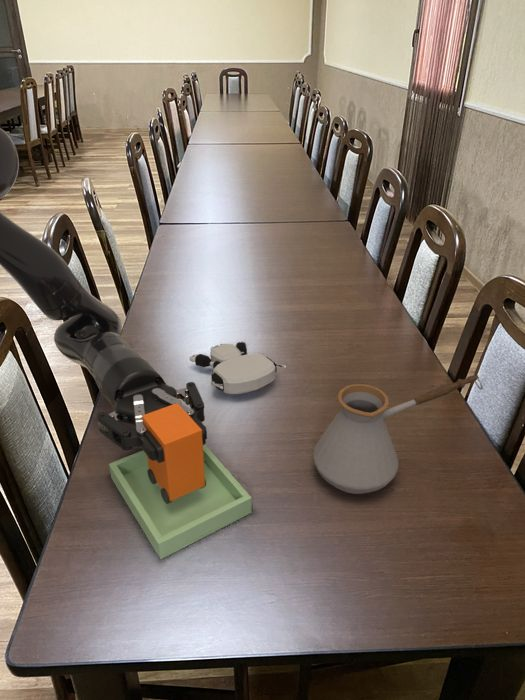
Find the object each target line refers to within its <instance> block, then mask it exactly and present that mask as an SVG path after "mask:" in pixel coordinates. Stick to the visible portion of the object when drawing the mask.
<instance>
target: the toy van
mask: <svg viewBox="0 0 525 700" xmlns="http://www.w3.org/2000/svg"><path fill="white" fill-rule="evenodd" d="M142 420H143V422H144V423H145V425H146V427H147V432H149V431H150V432H151V433H152V434H153V436H154V437H155V438H156V440H157V441H158V442H159V443H160V445H161V446H162V448H163V451H164V461H163V462H161V463H158V462H157V461H156V460H154V461H152V460H150V459H149V457H148V456H147V459H148V467H149V469H148V471H147V473H148V477H149V479H150V481H151V483H152V484H156V483H158V484H159V486H160V487H161V495H162V498H163V500H164V502H165V503H166V504H169V503H171V502H172V501H173V500H175V499H177V498H179V497H181V496H184V495H186V494H188V493H190V492H192V491H194V490H197V489H199V488H200V489H201V488H204V487H206V480H205V477H204V460H203V442H202V430H201V428H200V427H199V426H198V425H197V424H196V423H195V422H194V421H193V420H192V418H191V417H190V416H189V415H188V414H187V413H186V412H185V411H184V410H183V408H182V407H181V406H180V405H179V404H178V403H176V404H173V405H170V406H167V407H165V408H162V409H159V410H156V411H153V412H151V413H148V414H145V415H142Z"/></svg>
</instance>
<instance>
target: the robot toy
mask: <svg viewBox="0 0 525 700" xmlns="http://www.w3.org/2000/svg"><path fill="white" fill-rule="evenodd" d="M247 353H248V349H247V344H246V342H245V341H237V342H236V344H235V345H234V344H233V343H220V345H219V344H217V345H212V346H211V347H210V351H209V354H210V356H209V355H206V354H202V353H199V354H193V355H191V356H189V358H188V359H189V361H190V362H192V363H195V365H196V366H197V367H200V368H207V367H212V368H213V370H212V373H211V375H210V376H211V377H210V378H211V381H210V384H211V386H212V387H214V388H216V389H217V390H219V391H220V392H223V393H225V394H226V395H240V394H246V393H247V394H248V393H251V392H254V391H255V392H256V391H258V390H259V389H260V390H261V389H262V388H263V387H266V386H267V385H269V384H271V383H272V382H273V381H274V380H275V379H276V373H277V372H278V371H277V367H280V368H283V369H287V366H286V365H283V364H280V363H277V362H276V361H273V360H272V359H270V358H269V356H265V355H264V354H261V353H249V354H247Z"/></svg>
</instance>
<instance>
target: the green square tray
mask: <svg viewBox="0 0 525 700" xmlns="http://www.w3.org/2000/svg"><path fill="white" fill-rule="evenodd" d="M203 460H204V477H205V480H206V487H204V488H201V489H200V488H199V489H197V490H194V491H192V492H190V493H188V494H186V495H184V496H181V497H179V498H177V499H175V500H173V501H172V502H171V503H169V504H166V503H165V502H164V500H163V498H162V495H161V487H160V486H159V484H158V483H156V484H152V483H151V481H150V479H149V477H148V473H147V471H148V469H149V467H148V459H147V454H146V453H145V452H144V450H143V449H142V450H140V451H138V452H135V453H133V454H130V455H128V456H125V457H122V458H119V459H117V460H115V461H112V462H110V463H108V466H109V472H110V478H111V480H112V482H113V483H114V485H115V487H116V488H117V490H118V491H119V494H120V495H121V496H122V499H123V500H124V502H125V504H126V505H127V507H128V508H129V510H130V511H131V513H132V515H133V516H134V518H135V520H136V521H137V523H138V525H139V526H140V528H141V530H142V531H143V533H144V535H145V536H146V538H147V540H148V541H149V543H150V544H151V546H152V548H153V549H154V551H155V553H156V554H157V557H158V558H159V559H160V560H163V559H164V558H167V557H168V556H170V555H172V554H174V553H176V552H178V551H180V550H182V549H184V548H186V547H188V546H190V545H192V544H193V543H195V542H197V541H199V540H201V539H203V538H205V537H207V536H209V535H211V534H213V533H215V532H217V531H219V530H221V529H223V528H225V527H227V526H228V525H230V524H232V523H234V522H236V521H238V520H240V519H242V518H244V517H246V516H248V515H250V514H252V512H253V511H252V504H253V503H252V502H253V501H252V500H253V499H252V496H251V495H250V494H249V493H248V492H247V491H246V489H245V487H243V486H242V485H241V484H240V482H238V480H237V479H236V478H235V477H234V476H233V474H232V473H230V471H229V470H228V469H227V468H226V467H225V466H224V464H223V463H222V462H221V461H220V459H219V458H218V457H217V456H216V455H215V454H214V453H213V452H212V450H211V449H210V448H209V447H208V446H207V444H205V445H203Z"/></svg>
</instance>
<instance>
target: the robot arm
mask: <svg viewBox="0 0 525 700" xmlns="http://www.w3.org/2000/svg"><path fill="white" fill-rule="evenodd" d="M19 162H20V160H19V153H18V150H17V147H16V145H15V143H14V141H13V140H12V138H11V137H10V136H9V135H8V133H7V132H6V131H5V130H4V129H2V128H1V127H0V200H1V199H3V198H4V197H6V196H7V195H8V194H9V193H10V191H11V190H12V189H13V187H14V185H15V183H16V180H17V178H18V173H19V168H20V163H19ZM0 267H1V268H3V270H5V271H6V273H7V274H9V276H11V278H12V279H13V280H14V281H15V282H16V283H17V284H18V285H19V286H20V288H21V289H22V290H23V292H25V293H26V294H27V296H28V297H29V298H30V300H32V302H33V303H34V304H35V305H36V306H37V308H38V309H39V310H40V311H41V312H42V314H43V315H45V317H47V318H48V319H50V320H51V321H63V322H62V323H60V324H59V326H57V328H56V330H55V331H54V336H53V340H54V344H55V346H56V348H57V349H58V351H59V352H60V353H61V354H62V355H63V356H64V357H65V358H66V359H68V360H69V361H71V362H73V363H75V364H77V365H78V366H81V367H83V368H86V369H87V371H88V372H89V374H90V375H91V376H92V377H93V379H94V381H95V384H96V385H97V387H98V389H99V392H100V393H101V395H103V396H104V397H105V399H106V400H107V401H108V403H109V404H110V406H111V407H112V408H113V410H114V411H111V412H110V413H107V412H105V411H101V412H98V413H97V415H96V418H97V424H98V430H99V433H100V434H102V435H103V436H105V437H106V439H108V440H110V441H111V442H112V443H113V444H115V445H116V446H118V447H119V448H121V449H122V450H123V451H130V450H132V449H133V448H134V447H139V448H140V449H142V450H144V452H145V453H146V454H147V456H148V457H149V459H150V460H152V461H154V460H156V461H157V462H158V463H161V462H163V461H164V451H163V448H162V446H161V445H160V443H159V442H158V441H157V440H156V438H155V437H154V436H153V434H152V433H151V432H150V431H149V432H147V427H146V425H145V423H144V422H143V420H142V415H145V414H148V413H151V412H153V411H156V410H159V409H162V408H165V407H167V406H170V405H173V404H176V403H178V404H179V405H180V406H181V407H182V408H183V410H184V411H185V412H186V413H187V414H188V415H189V416H190V417H191V418H192V420H193V421H194V422H195V423H196V424H197V425H198V426H199V427H200V428H201V430H202V442H203V445H207V440H208V431H207V426H206V425H204V423H203V422H204V421H205V419H206V415H205V403H204V400H203V398H202V396H201V393H200V392H199V388H198V387H197V385H196V383H195V382H193V381H189V382H187V383H186V384H185V387H183V388H178V389H176V388H175V387H174V386H170V385H168V384H167V383H166V381H165V380H164V378H163V377H162V376H161V375H160V374H159V373H158V371H157V370H156V369H155V368H154V367H153V366H152V365H151V364H150V363H149V362H148V360H147V359H145V357H144V356H143V355H142V354H141V353H139V352H138V351H137V350H136V349H134V347H132V346H131V345H130V344H129V343H128V341H127V339H125V338H124V337H123V336H122V329H123V325H122V321H121V318H120V316H119V315H118V314H117V313H116V311H114V309H112V308H111V307H109V306H108V305H107V304H105V303H104V302H102V301H101V300H99V299H98V298H97V297H95V296H94V295H93V294H92V293H90V292H89V291H88V289H86V288H85V287H84V286H83V284H82V282H80V279H78V278H77V276H76V274H75V273H74V272H73V270H72V268H71V267H70V266H69V264H68V263H67V262H66V261H65V260H64V259H63V257H62V256H61V255H60V254H59V253H58V252H56V250H55V249H53V248H52V247H51V246H50V245H48V244H47V243H45V241H43V240H41V239H40V238H38V237H37V236H35V235H33V234H32V233H30V232H29V231H27V230H26V229H24V228H23V227H21V226H20V225H18V224H17V223H16V222H14V221H13V220H12V219H10V218H9V217H8V216H7V215H5V214H4V213H3V212H1V211H0ZM64 320H65V321H64ZM182 401H183V402H182ZM183 403H185V405H184V404H183ZM123 423H126V424H129V425H133V426H135V429H136V430H131V429H129V427H127V426H125V425H124V424H123Z"/></svg>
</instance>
